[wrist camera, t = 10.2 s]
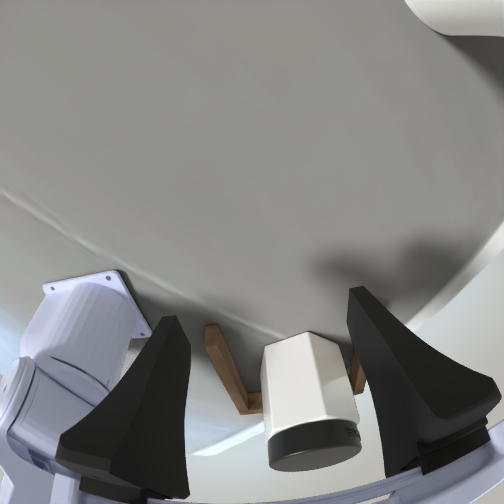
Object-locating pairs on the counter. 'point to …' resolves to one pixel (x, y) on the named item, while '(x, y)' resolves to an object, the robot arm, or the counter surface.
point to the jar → (307, 404)
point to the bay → (232, 379)
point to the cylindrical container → (461, 16)
